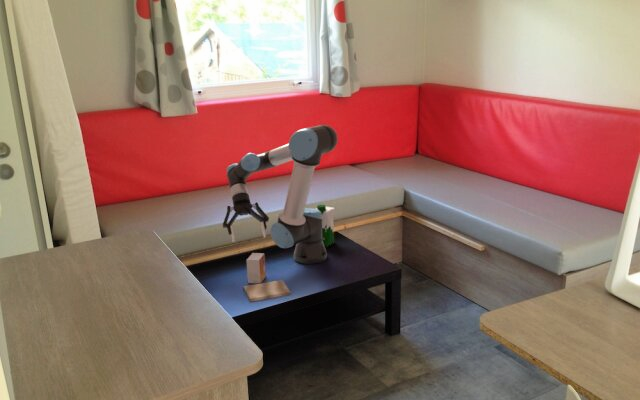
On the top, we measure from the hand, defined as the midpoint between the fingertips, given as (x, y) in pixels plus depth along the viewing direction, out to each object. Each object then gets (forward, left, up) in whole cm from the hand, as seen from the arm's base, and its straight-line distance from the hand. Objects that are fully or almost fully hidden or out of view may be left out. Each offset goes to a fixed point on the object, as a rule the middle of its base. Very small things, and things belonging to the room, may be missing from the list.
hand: (249, 238), depth 236 cm
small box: (0, +11, -15) cm, 18 cm away
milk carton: (-40, -17, -15) cm, 46 cm away
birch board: (-1, +24, -15) cm, 28 cm away
